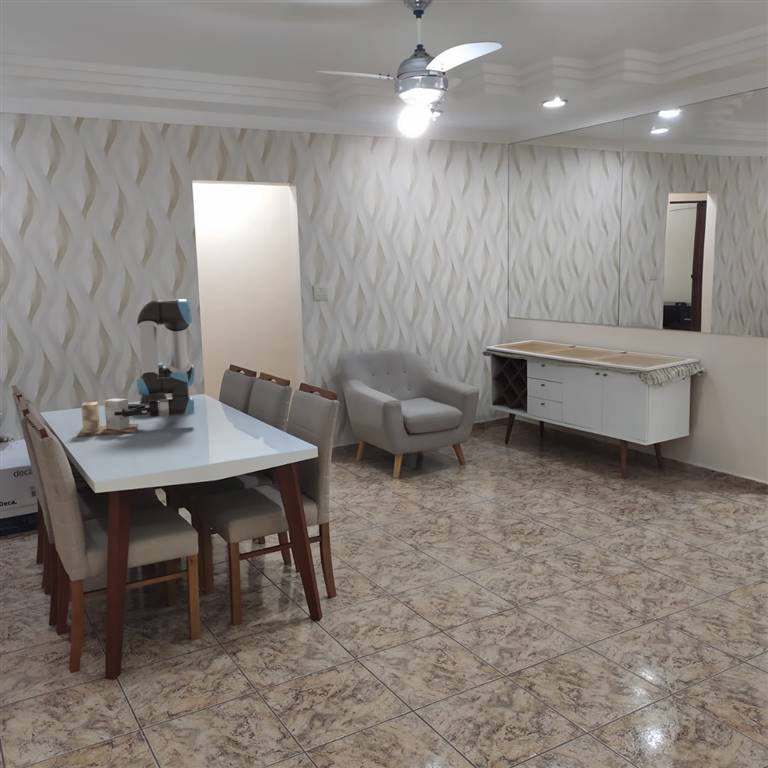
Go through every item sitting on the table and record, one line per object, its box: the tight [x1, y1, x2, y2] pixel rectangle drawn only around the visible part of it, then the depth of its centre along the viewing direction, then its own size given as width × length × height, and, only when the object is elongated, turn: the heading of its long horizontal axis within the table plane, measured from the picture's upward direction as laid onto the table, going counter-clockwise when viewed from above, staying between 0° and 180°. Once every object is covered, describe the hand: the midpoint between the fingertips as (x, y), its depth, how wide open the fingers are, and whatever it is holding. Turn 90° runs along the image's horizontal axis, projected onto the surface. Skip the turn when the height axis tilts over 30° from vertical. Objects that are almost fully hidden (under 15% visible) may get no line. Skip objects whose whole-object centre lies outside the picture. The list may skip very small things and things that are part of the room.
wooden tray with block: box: [77, 401, 139, 438], centre depth 332 cm, size 24×16×13 cm, turn 105°
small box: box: [104, 398, 131, 430], centre depth 333 cm, size 8×6×13 cm
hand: (107, 411), depth 332 cm, fingers open, 12 cm apart
